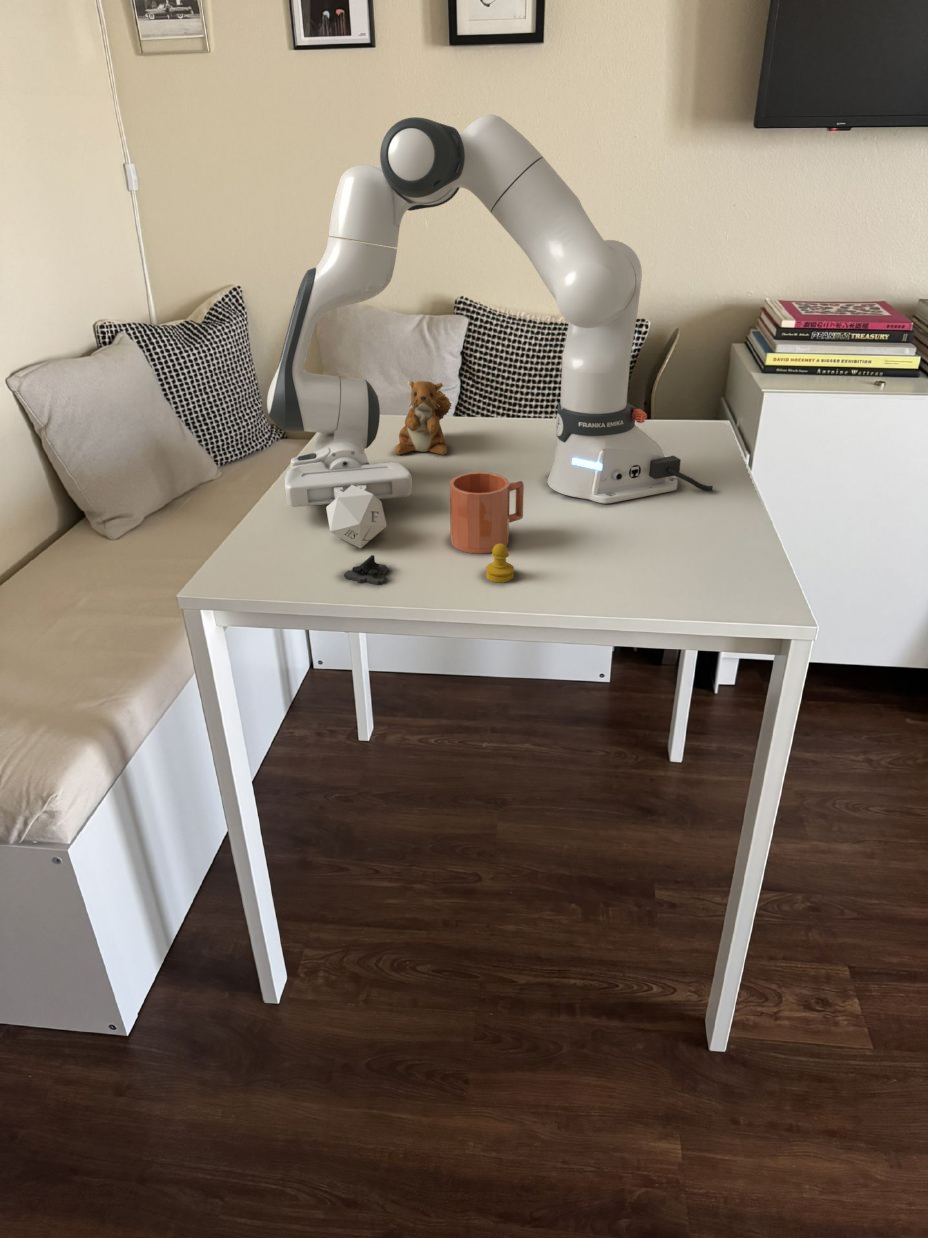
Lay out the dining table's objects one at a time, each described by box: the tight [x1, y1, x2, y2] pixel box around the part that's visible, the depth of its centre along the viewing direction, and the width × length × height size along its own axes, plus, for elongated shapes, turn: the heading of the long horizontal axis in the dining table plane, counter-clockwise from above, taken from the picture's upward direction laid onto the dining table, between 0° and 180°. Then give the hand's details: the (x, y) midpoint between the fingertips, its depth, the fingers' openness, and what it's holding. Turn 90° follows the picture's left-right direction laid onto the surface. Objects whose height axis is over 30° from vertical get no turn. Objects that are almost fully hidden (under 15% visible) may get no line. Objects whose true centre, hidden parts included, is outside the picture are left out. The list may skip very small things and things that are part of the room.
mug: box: [449, 471, 525, 555], centre depth 136 cm, size 12×9×10 cm
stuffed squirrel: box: [393, 380, 452, 456], centre depth 172 cm, size 10×14×13 cm
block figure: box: [343, 554, 390, 586], centre depth 128 cm, size 6×2×6 cm
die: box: [325, 485, 387, 550], centre depth 136 cm, size 8×9×10 cm
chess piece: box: [485, 544, 515, 583], centre depth 126 cm, size 4×4×5 cm
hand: (353, 503), depth 138 cm, fingers closed, pressing on die
